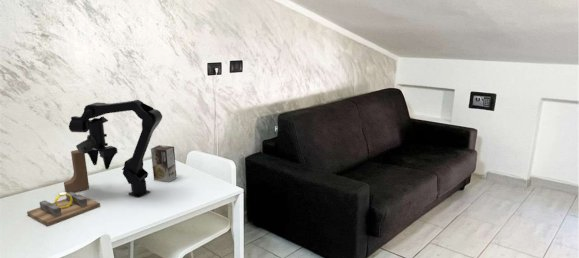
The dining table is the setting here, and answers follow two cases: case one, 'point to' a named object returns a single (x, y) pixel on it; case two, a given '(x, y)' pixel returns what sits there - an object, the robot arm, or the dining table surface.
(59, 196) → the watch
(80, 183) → the wooden block
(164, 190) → the dining table surface
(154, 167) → the coffee box
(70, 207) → the cradle
